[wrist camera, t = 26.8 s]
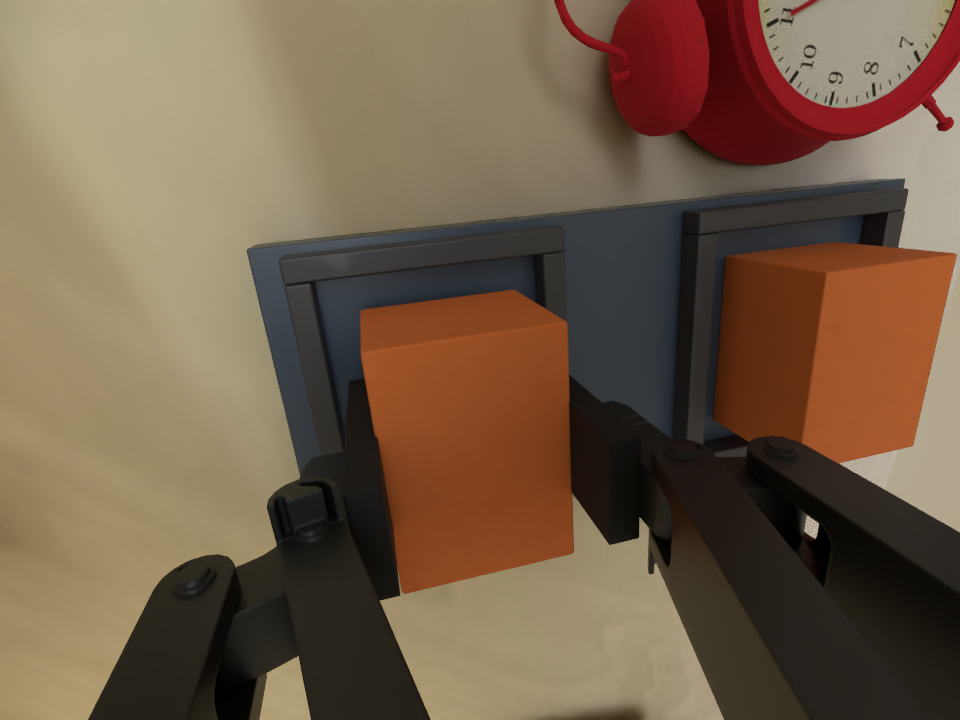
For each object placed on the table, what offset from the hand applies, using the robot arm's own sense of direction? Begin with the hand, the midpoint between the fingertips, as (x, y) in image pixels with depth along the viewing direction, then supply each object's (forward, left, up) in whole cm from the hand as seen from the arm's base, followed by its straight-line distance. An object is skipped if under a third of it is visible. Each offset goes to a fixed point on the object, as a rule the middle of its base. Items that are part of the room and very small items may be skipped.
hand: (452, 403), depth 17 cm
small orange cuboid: (-14, 0, -2) cm, 14 cm away
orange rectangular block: (0, 0, 0) cm, 0 cm away
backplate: (-7, 0, -3) cm, 8 cm away
